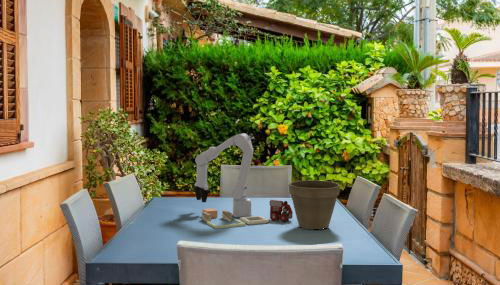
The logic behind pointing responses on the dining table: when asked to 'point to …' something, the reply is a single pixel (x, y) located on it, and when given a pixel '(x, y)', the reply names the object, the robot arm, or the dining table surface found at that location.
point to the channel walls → (225, 215)
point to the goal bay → (227, 225)
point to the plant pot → (314, 202)
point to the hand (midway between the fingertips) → (201, 201)
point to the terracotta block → (211, 212)
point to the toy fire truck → (280, 210)
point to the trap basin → (254, 220)
